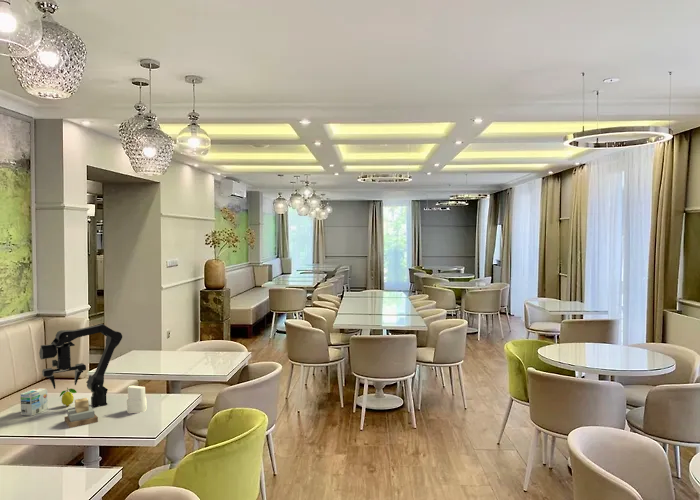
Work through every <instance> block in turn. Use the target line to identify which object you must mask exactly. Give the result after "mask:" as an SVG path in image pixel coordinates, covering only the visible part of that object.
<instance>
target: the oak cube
mask: <svg viewBox="0 0 700 500" xmlns="http://www.w3.org/2000/svg"><path fill="white" fill-rule="evenodd" d="M89 406H90V405H89V399H88V398H87V397H82V398H78V399H74V409H75V411H76V412H77V413H79V412H84V411H89Z"/></svg>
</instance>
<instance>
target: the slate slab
mask: <svg viewBox="0 0 700 500" xmlns="http://www.w3.org/2000/svg"><path fill="white" fill-rule="evenodd" d="M95 412H96V411H95V409H93V406H92V405H89V411H84V412H79V413H77V412H76V411H75V408H73V409H68V410H67V416H68V418H69V420H70V421H71V422H74V421H79V420H84V419H89V418H94V417H95V415H96V414H95Z"/></svg>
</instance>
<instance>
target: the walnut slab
mask: <svg viewBox="0 0 700 500" xmlns="http://www.w3.org/2000/svg"><path fill="white" fill-rule="evenodd" d="M98 422H99V419H98V416H97V415H96V414H95V417H94V418H89V419H84V420H79V421H74V422H71V421H70V420H69V418H68V415H66V416H64V423H66V425H67V427H68V428H69V429H72V428H76V427H81V426H86V425H90V424H94V423H98Z"/></svg>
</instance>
